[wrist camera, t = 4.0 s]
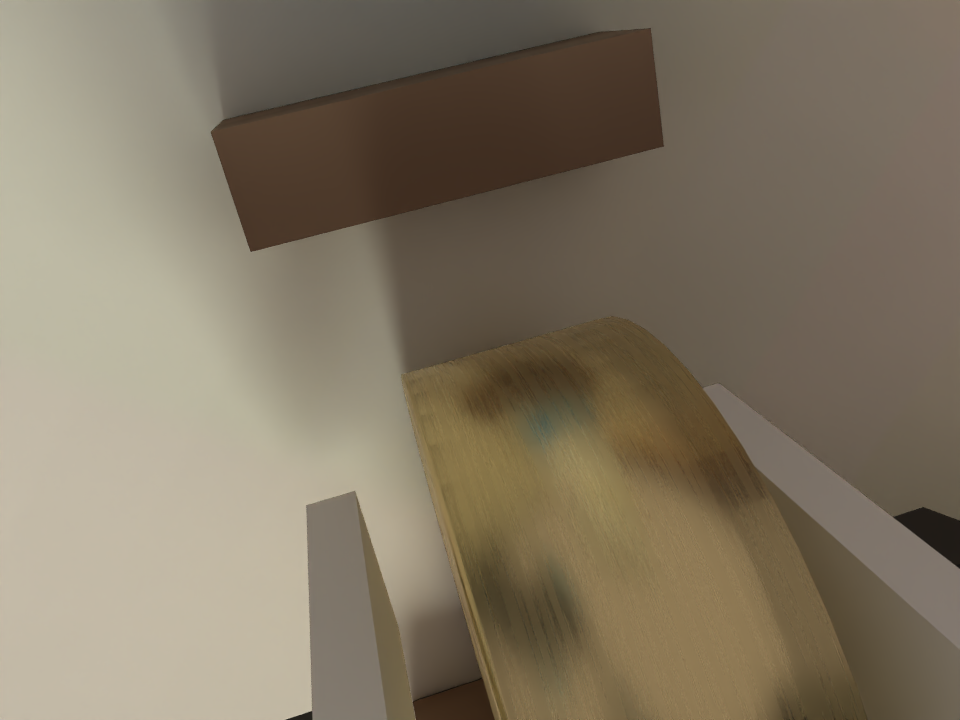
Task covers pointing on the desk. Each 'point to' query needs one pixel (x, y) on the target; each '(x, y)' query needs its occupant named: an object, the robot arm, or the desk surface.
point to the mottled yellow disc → (618, 539)
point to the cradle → (440, 157)
